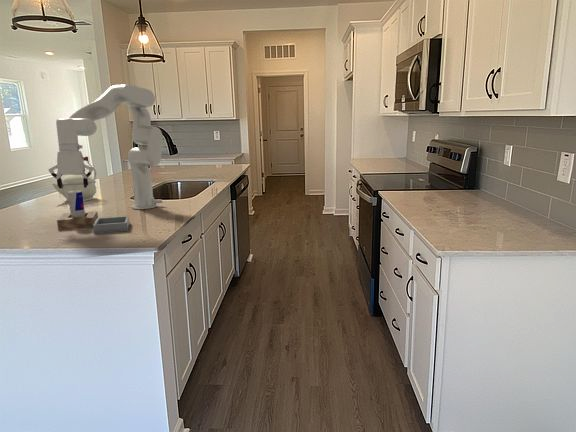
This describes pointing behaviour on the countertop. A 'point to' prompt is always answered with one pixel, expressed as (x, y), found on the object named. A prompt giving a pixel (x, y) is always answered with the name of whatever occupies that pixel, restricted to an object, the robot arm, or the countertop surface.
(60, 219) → the socket block
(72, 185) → the kettle
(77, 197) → the beverage can
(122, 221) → the tray
